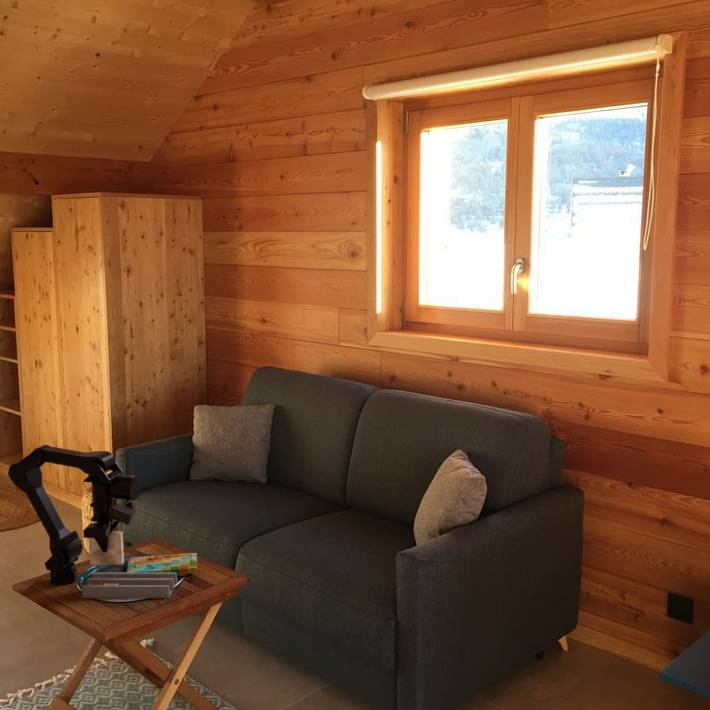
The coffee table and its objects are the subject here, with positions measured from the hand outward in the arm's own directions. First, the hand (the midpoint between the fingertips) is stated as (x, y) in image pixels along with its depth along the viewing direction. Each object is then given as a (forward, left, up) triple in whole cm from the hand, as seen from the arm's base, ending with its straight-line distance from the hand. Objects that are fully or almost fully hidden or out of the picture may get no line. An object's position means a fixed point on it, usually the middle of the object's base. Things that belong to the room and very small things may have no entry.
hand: (106, 550), depth 247 cm
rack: (+7, -2, -12) cm, 14 cm away
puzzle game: (+13, +12, -13) cm, 21 cm away
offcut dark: (-3, -4, -11) cm, 12 cm away
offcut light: (+2, -4, -11) cm, 12 cm away
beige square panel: (0, 0, -4) cm, 4 cm away
